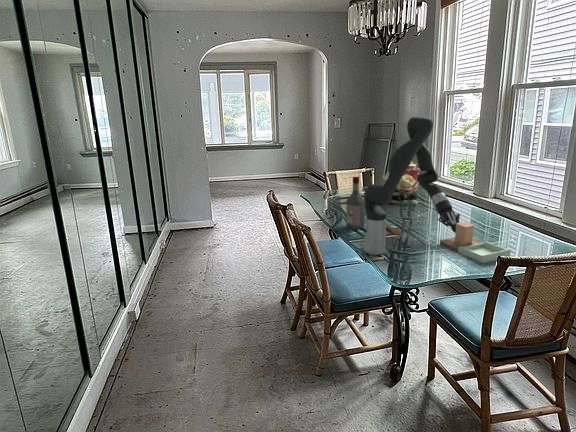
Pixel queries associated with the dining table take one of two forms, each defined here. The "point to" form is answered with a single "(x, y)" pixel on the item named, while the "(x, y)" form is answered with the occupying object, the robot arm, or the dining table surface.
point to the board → (456, 244)
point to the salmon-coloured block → (464, 233)
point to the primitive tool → (393, 230)
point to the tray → (483, 252)
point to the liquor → (355, 208)
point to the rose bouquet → (405, 186)
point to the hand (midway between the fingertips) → (457, 232)
